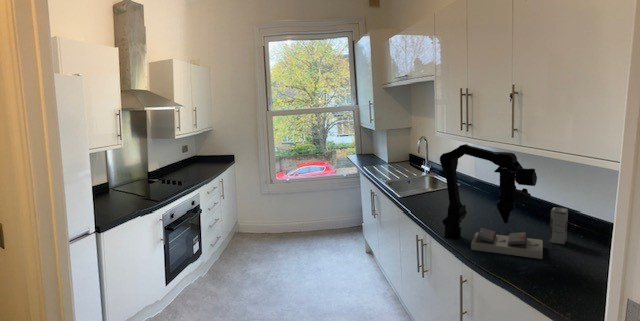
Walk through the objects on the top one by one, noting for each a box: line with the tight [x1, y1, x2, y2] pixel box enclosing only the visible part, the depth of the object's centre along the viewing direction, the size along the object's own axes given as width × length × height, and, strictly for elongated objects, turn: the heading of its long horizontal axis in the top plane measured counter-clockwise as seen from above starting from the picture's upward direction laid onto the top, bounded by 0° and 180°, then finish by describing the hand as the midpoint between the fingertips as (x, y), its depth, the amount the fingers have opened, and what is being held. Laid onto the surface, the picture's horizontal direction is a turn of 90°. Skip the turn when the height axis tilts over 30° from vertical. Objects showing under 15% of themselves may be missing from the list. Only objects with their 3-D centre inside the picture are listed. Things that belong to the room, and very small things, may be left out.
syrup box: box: [548, 206, 569, 245], centre depth 161 cm, size 6×6×14 cm
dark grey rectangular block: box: [477, 227, 496, 242], centre depth 161 cm, size 6×11×1 cm, turn 150°
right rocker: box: [508, 231, 527, 244], centre depth 156 cm, size 6×11×1 cm, turn 150°
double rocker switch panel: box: [463, 232, 544, 260], centre depth 159 cm, size 30×14×3 cm, turn 60°
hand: (506, 220), depth 157 cm, fingers open, 9 cm apart
